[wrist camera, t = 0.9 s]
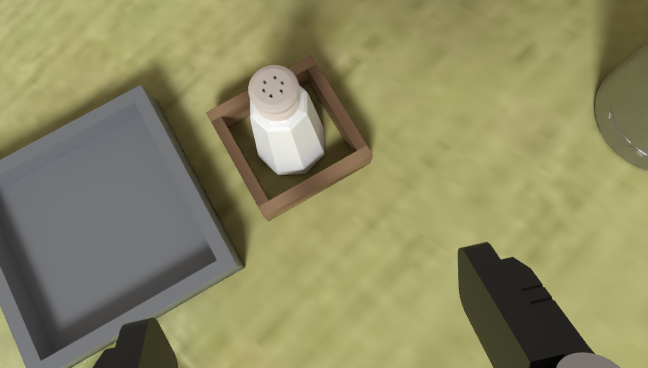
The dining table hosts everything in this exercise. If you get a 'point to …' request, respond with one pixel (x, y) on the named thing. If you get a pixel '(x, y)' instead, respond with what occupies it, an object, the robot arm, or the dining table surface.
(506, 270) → the robot arm
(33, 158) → the tray
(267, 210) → the collar
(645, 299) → the dining table surface
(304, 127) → the salt shaker
